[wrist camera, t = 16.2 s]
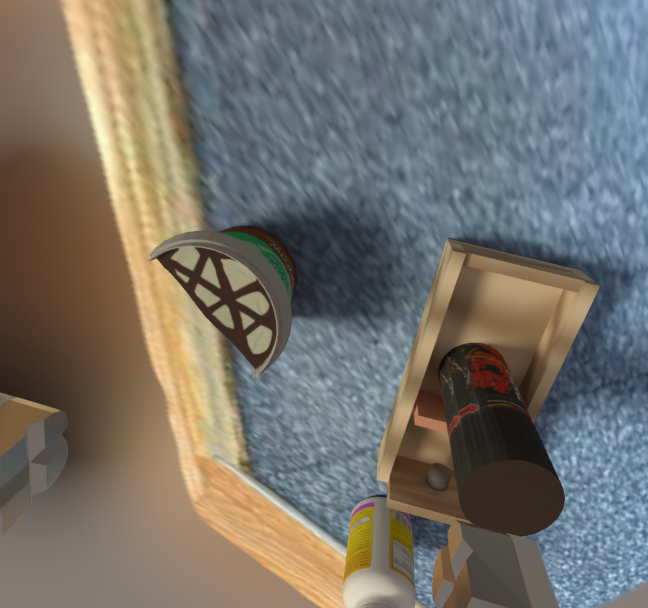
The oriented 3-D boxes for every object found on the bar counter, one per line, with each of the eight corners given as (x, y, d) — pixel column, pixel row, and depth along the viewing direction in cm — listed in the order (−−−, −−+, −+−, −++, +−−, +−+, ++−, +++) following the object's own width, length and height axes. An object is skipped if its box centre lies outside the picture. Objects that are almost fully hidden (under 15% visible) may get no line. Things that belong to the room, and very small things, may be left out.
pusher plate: (416, 389, 42) (418, 415, 38) (506, 412, 41) (517, 441, 37) (413, 398, 42) (414, 424, 38) (502, 421, 42) (513, 450, 38)
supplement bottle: (348, 533, 51) (334, 656, 40) (353, 488, 49) (340, 605, 37) (407, 544, 51) (411, 672, 39) (416, 499, 48) (422, 621, 36)
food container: (338, 292, 41) (321, 341, 32) (287, 328, 43) (257, 383, 34) (249, 181, 38) (202, 199, 29) (199, 224, 40) (141, 254, 31)
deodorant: (424, 375, 41) (438, 501, 28) (469, 329, 39) (508, 441, 25) (474, 411, 42) (513, 552, 28) (521, 368, 40) (588, 498, 26)
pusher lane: (447, 238, 38) (457, 262, 31) (579, 270, 37) (618, 300, 30) (378, 451, 47) (375, 504, 40) (484, 480, 46) (498, 538, 39)
